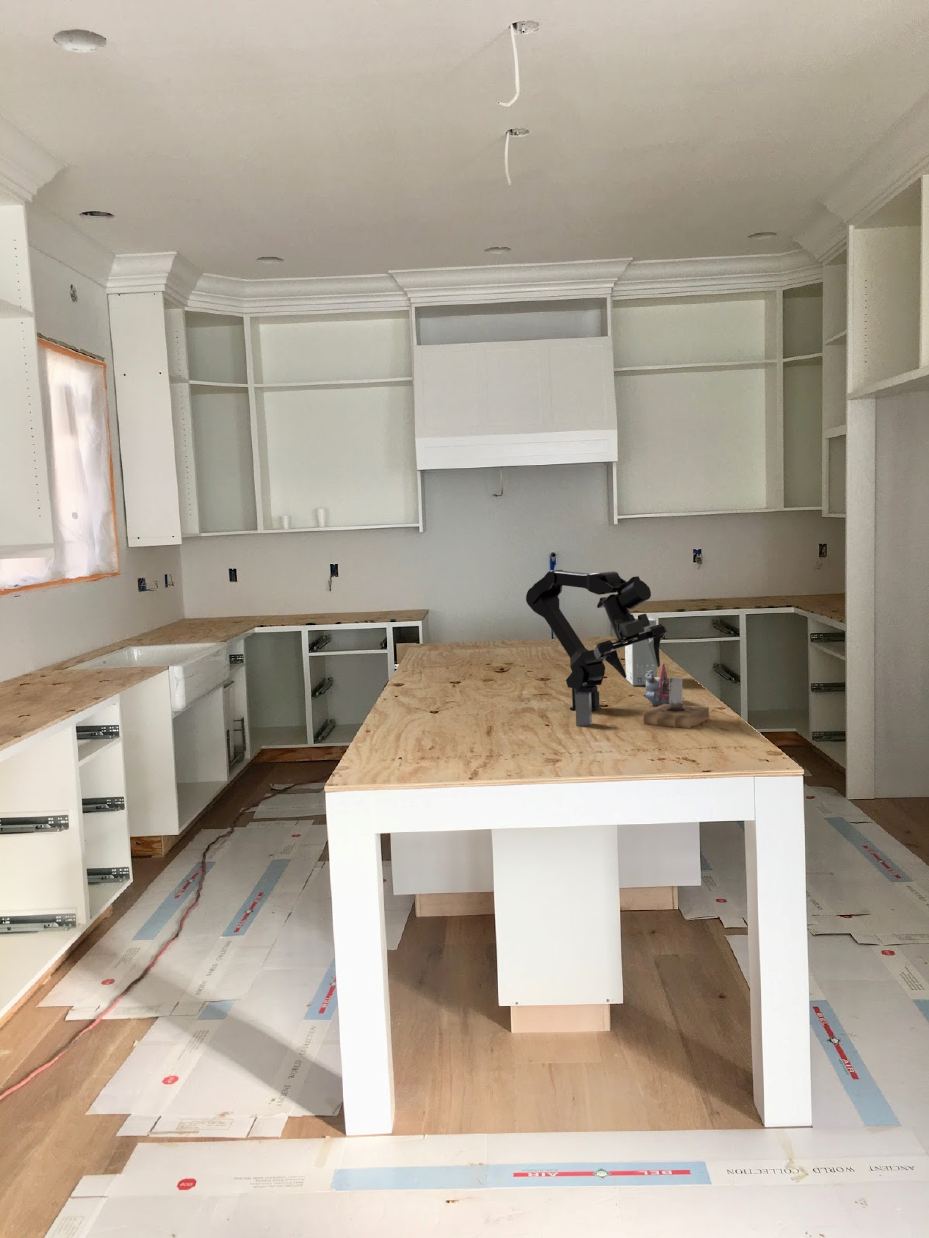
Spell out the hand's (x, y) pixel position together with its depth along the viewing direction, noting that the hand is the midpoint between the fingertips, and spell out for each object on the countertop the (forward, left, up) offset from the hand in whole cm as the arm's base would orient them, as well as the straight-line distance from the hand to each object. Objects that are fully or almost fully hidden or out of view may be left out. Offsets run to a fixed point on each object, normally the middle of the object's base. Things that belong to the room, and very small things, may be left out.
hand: (642, 672), depth 252 cm
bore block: (+9, 0, -12) cm, 15 cm away
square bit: (-10, -13, -12) cm, 20 cm away
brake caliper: (-5, +21, -12) cm, 25 cm away
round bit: (+9, 0, -12) cm, 15 cm away
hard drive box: (-26, +50, -12) cm, 58 cm away
